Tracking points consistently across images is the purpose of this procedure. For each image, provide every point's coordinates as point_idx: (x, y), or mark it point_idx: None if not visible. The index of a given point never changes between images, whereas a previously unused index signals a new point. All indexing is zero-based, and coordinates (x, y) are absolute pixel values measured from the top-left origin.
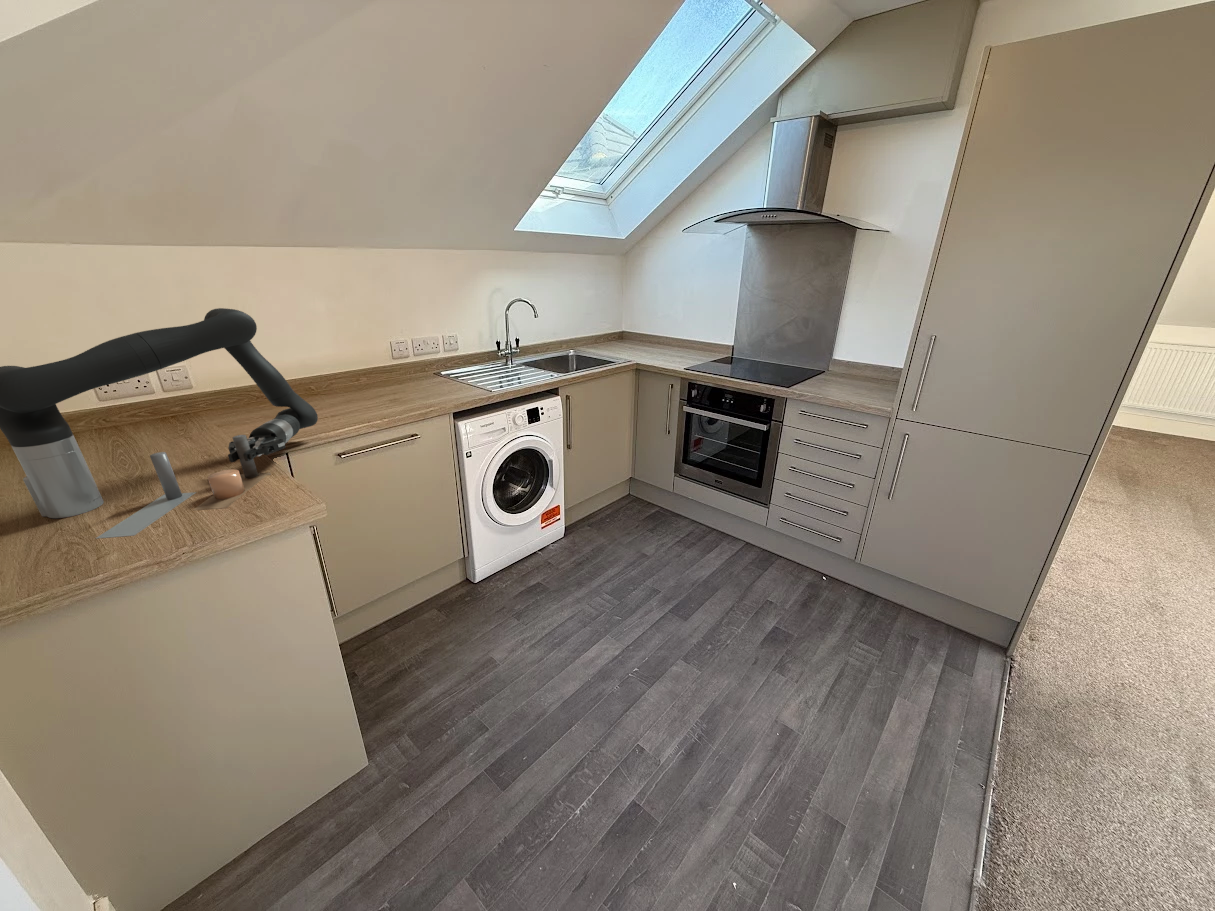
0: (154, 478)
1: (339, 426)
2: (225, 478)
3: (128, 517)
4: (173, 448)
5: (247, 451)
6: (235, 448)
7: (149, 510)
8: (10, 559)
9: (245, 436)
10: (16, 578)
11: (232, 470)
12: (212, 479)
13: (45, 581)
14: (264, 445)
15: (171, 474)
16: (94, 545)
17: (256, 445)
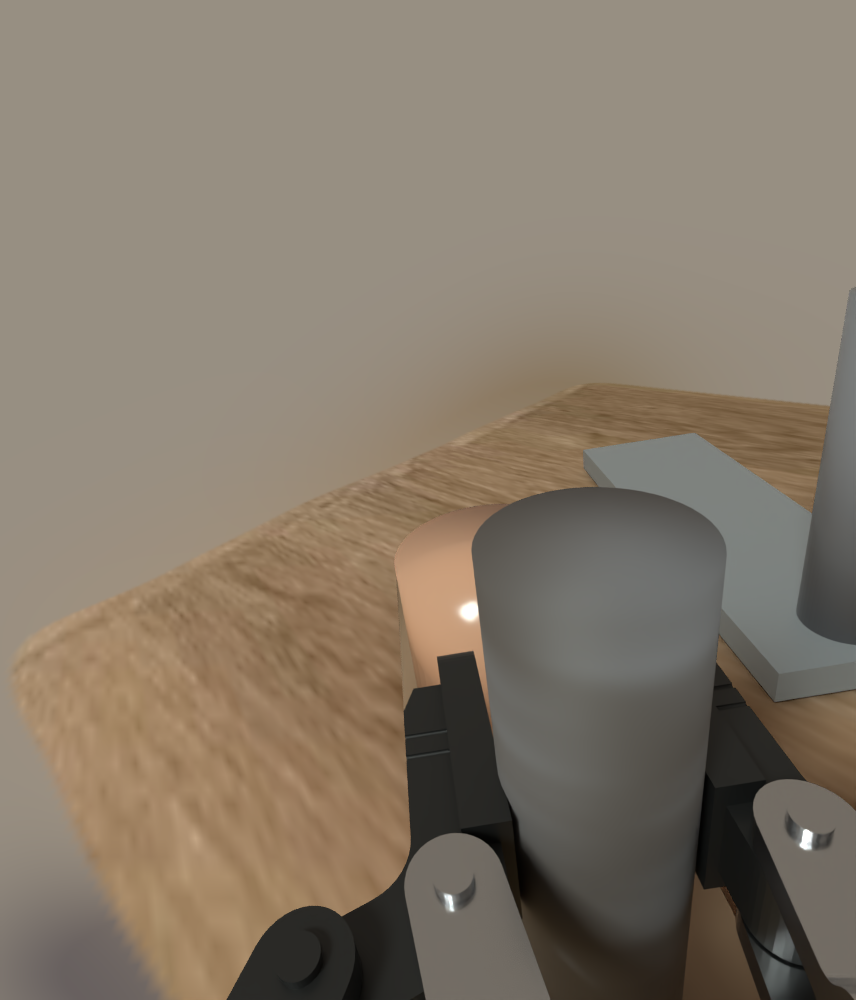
0: None
1: None
2: (429, 522)
3: (775, 490)
4: None
5: (471, 707)
6: (820, 799)
7: (766, 526)
8: None
9: (474, 565)
10: (697, 395)
11: (475, 593)
12: (502, 506)
13: (613, 400)
14: (286, 940)
15: (826, 465)
16: None
17: (503, 989)
